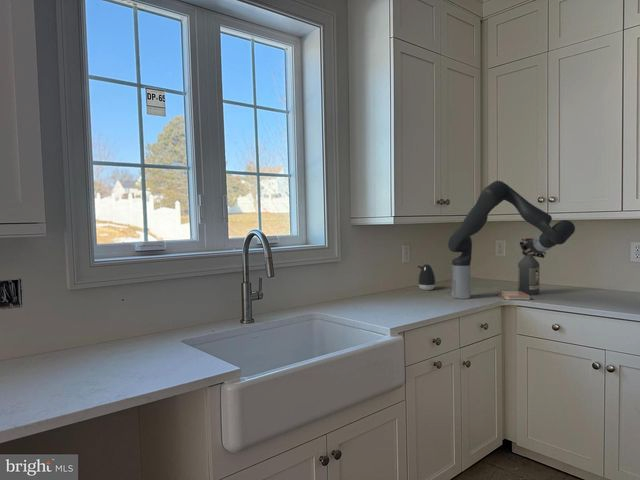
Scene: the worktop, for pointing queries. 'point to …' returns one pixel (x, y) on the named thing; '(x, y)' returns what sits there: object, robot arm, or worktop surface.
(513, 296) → the tile
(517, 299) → the mat
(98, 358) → the worktop surface
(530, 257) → the liquor
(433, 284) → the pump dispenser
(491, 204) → the robot arm
